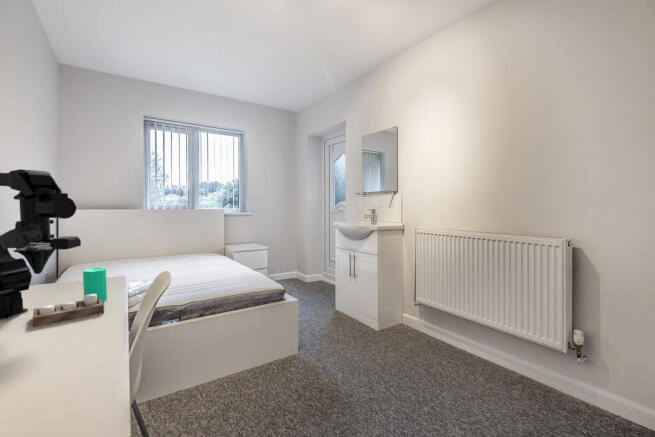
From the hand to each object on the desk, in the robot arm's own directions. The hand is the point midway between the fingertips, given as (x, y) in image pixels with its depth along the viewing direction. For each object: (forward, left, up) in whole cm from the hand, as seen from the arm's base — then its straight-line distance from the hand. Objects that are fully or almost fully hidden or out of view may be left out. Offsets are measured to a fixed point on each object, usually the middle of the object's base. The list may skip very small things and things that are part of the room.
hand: (38, 273), depth 82 cm
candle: (+3, +15, -13) cm, 20 cm away
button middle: (+5, +3, -13) cm, 14 cm away
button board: (+5, +3, -13) cm, 14 cm away
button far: (+9, +7, -11) cm, 16 cm away
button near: (+2, 0, -13) cm, 13 cm away
